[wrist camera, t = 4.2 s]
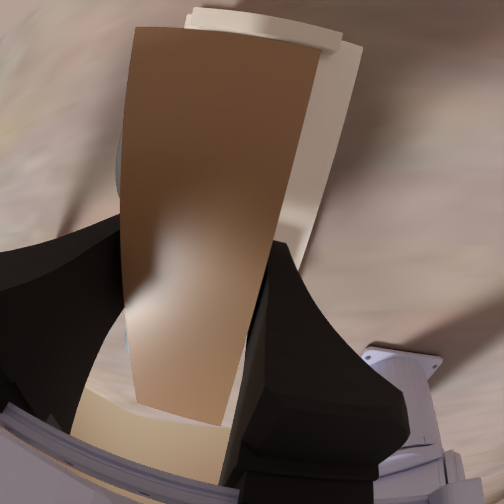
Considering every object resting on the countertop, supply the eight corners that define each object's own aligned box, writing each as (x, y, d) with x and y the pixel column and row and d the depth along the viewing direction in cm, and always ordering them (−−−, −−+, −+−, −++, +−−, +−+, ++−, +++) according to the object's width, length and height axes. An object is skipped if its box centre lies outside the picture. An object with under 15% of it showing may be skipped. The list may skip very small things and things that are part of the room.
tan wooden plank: (237, 349, 16) (220, 426, 12) (162, 330, 16) (130, 400, 12) (310, 60, 9) (321, 50, 5) (190, 40, 9) (123, 27, 5)
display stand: (285, 301, 23) (281, 348, 19) (162, 271, 23) (138, 312, 19) (359, 48, 14) (380, 40, 10) (193, 16, 14) (161, 2, 10)
